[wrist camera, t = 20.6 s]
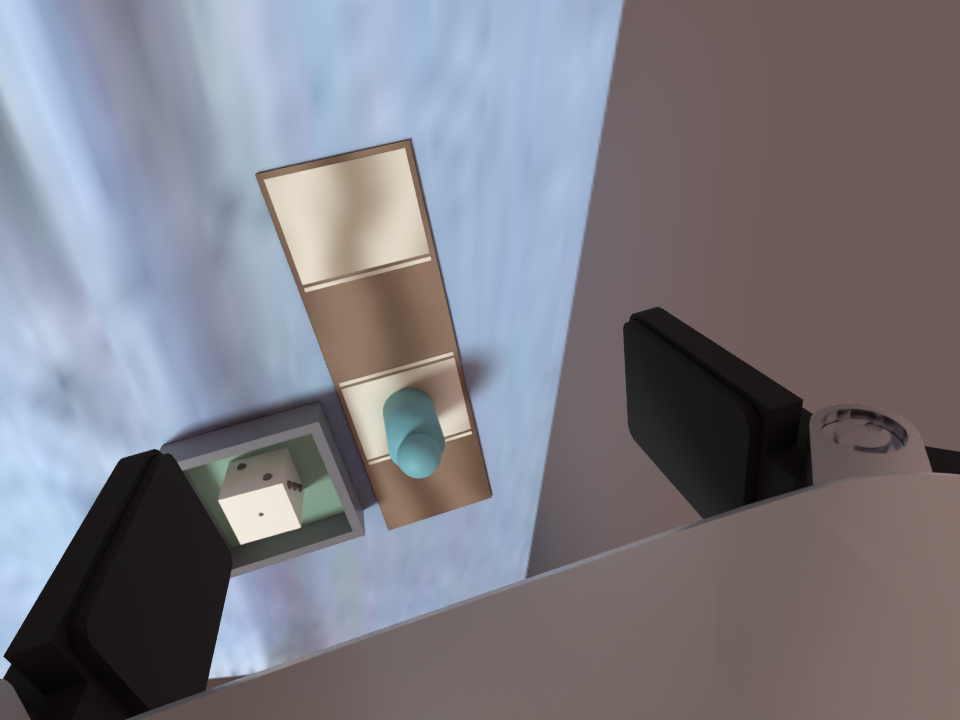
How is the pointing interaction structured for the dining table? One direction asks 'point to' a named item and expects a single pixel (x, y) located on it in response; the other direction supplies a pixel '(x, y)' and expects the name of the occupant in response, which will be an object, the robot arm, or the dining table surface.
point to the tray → (318, 465)
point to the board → (379, 314)
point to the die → (262, 495)
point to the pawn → (413, 432)
